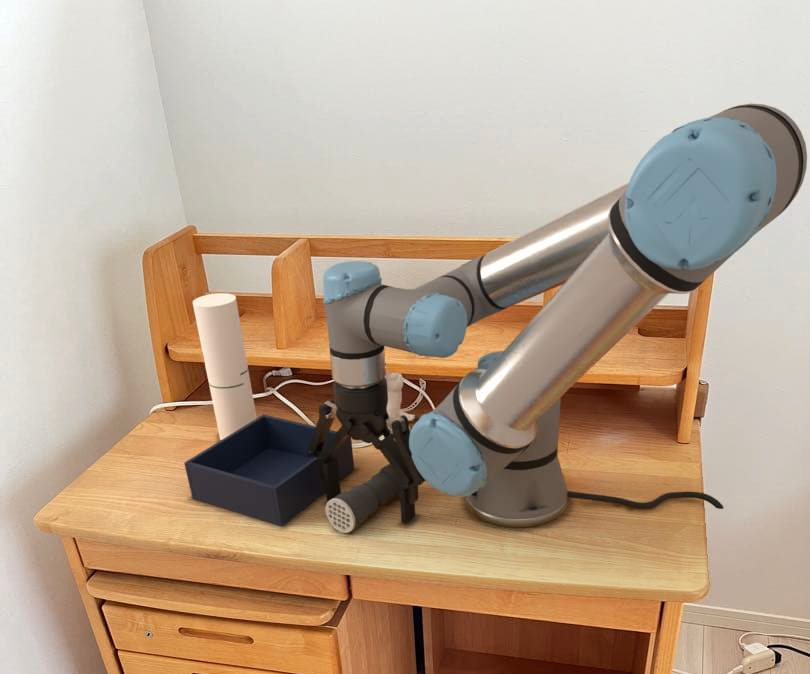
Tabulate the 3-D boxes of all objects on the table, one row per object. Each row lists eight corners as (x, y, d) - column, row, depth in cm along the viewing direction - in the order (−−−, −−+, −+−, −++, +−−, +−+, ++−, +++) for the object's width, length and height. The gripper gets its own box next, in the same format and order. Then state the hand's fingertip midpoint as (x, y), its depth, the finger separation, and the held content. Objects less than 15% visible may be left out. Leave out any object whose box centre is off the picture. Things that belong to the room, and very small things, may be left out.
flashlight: (391, 483, 132) (389, 453, 129) (417, 492, 129) (416, 462, 126) (327, 526, 122) (323, 495, 120) (354, 537, 120) (351, 505, 117)
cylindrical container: (266, 430, 151) (244, 295, 137) (243, 447, 146) (217, 308, 132) (235, 424, 154) (210, 291, 140) (211, 440, 149) (183, 304, 135)
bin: (354, 470, 137) (351, 434, 133) (281, 526, 123) (275, 488, 120) (269, 448, 145) (263, 414, 142) (192, 498, 132) (183, 462, 128)
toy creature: (406, 440, 145) (402, 376, 138) (372, 438, 146) (367, 375, 139) (419, 411, 154) (415, 350, 148) (387, 410, 156) (383, 349, 149)
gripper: (451, 384, 111) (453, 516, 123) (304, 355, 122) (319, 478, 134) (423, 405, 106) (428, 541, 118) (272, 373, 117) (290, 500, 129)
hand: (370, 508), depth 126 cm, fingers open, 13 cm apart
